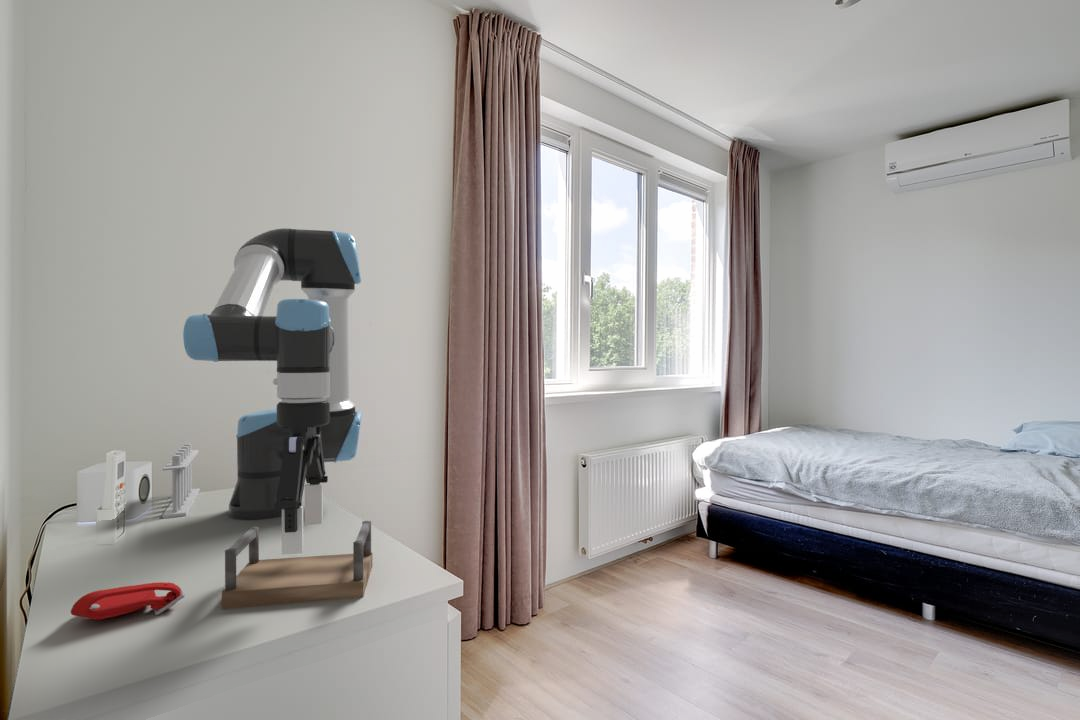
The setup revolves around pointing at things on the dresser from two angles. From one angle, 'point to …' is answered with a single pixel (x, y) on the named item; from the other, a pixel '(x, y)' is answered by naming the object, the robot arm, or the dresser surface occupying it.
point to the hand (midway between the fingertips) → (304, 537)
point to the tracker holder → (126, 600)
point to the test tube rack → (181, 482)
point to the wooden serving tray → (295, 574)
